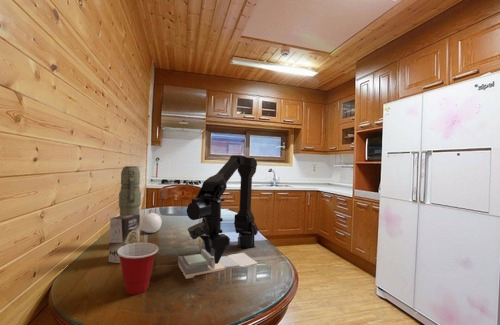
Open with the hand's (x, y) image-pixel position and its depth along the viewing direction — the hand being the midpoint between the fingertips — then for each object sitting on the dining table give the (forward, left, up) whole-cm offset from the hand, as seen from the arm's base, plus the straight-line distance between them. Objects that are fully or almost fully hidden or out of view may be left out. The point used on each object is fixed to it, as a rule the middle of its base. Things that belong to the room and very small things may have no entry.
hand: (212, 258), depth 88 cm
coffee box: (+28, -21, -3) cm, 35 cm away
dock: (-1, 0, -2) cm, 3 cm away
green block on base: (+6, 0, -1) cm, 6 cm away
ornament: (+15, -56, -3) cm, 58 cm away
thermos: (+26, -38, -3) cm, 46 cm away
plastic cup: (+25, +7, -3) cm, 26 cm away
